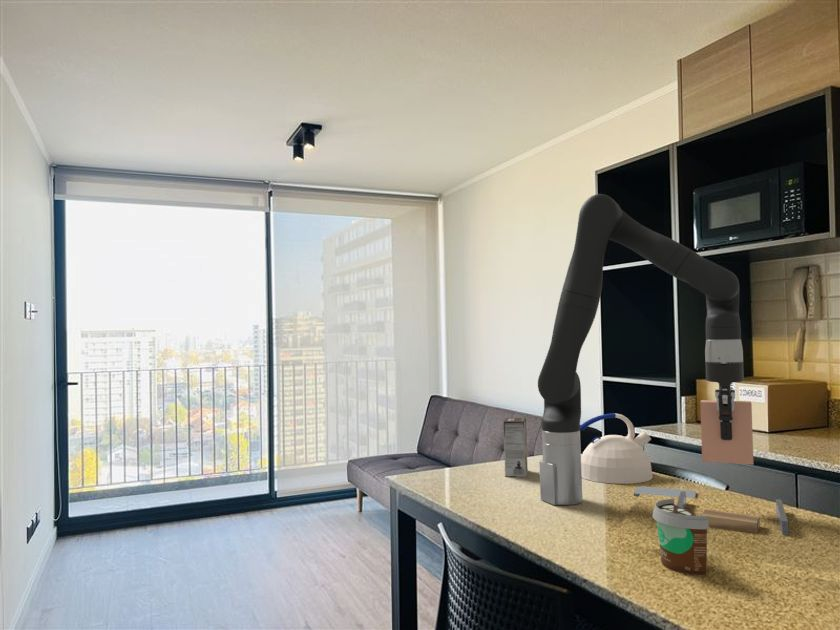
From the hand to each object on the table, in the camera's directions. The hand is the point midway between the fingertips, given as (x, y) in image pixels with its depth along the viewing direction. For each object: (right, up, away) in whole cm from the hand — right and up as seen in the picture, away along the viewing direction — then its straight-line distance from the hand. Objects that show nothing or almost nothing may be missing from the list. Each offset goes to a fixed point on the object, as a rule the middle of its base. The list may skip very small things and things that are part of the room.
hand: (726, 437), depth 137 cm
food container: (-23, -17, -29) cm, 41 cm away
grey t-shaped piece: (-6, -18, +19) cm, 27 cm away
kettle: (-11, -20, +41) cm, 47 cm away
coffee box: (-39, -20, +48) cm, 65 cm away
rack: (-2, -17, -6) cm, 18 cm away
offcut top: (-5, -15, -12) cm, 20 cm away
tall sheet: (0, -5, 0) cm, 5 cm away
